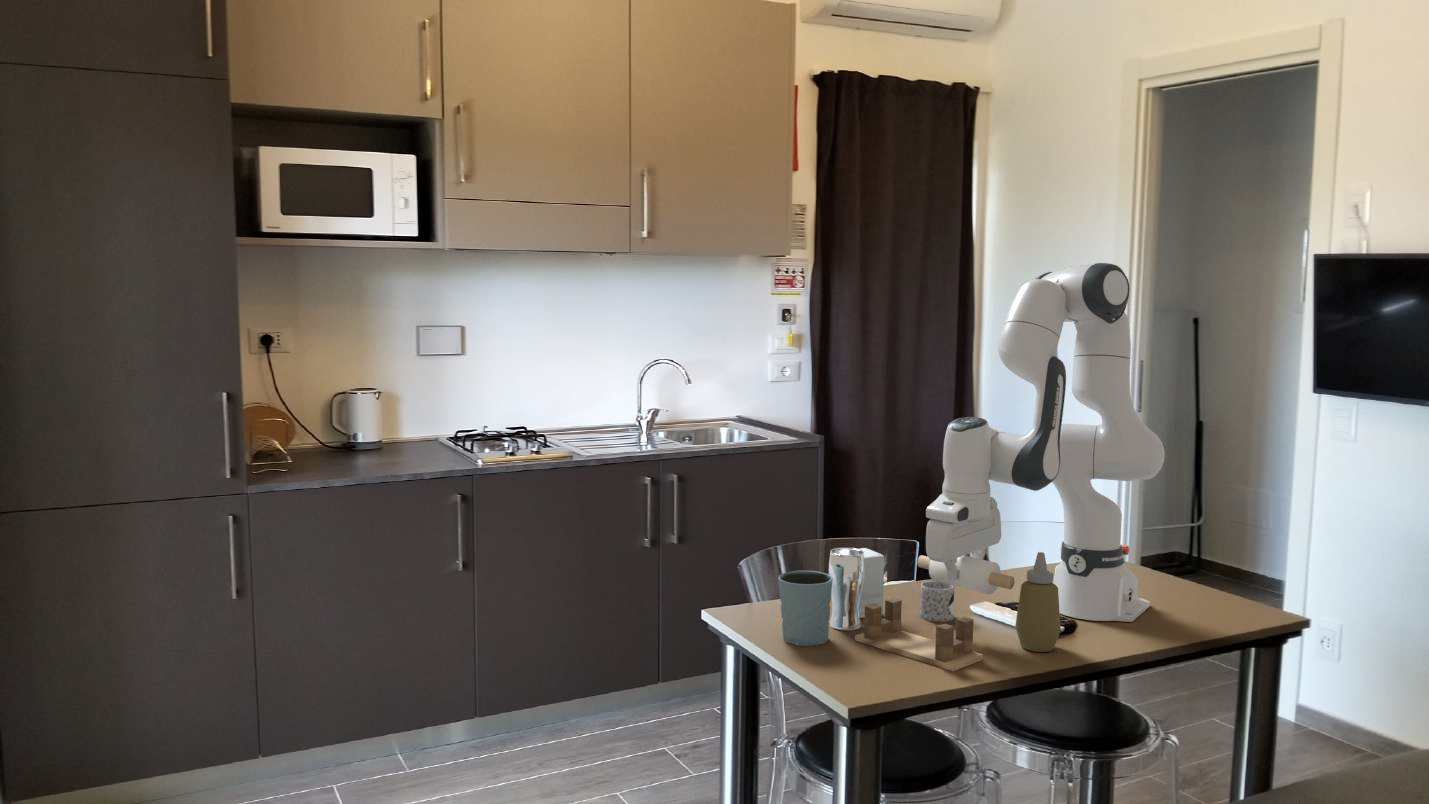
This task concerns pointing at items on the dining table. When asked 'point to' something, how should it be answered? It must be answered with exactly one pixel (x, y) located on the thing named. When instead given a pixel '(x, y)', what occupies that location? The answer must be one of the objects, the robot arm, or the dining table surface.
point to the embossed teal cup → (805, 606)
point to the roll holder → (919, 638)
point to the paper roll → (969, 574)
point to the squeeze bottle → (1038, 609)
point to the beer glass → (846, 587)
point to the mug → (937, 601)
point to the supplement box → (872, 580)
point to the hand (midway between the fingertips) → (964, 574)
